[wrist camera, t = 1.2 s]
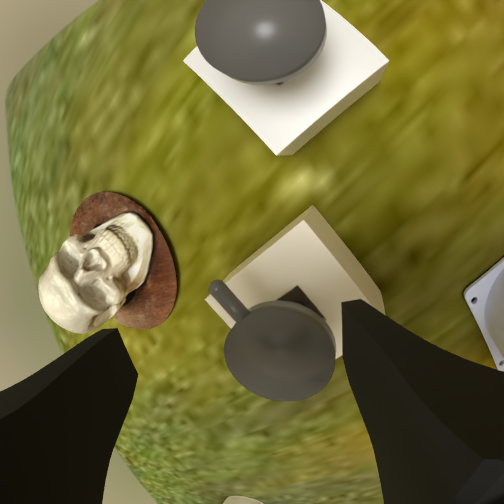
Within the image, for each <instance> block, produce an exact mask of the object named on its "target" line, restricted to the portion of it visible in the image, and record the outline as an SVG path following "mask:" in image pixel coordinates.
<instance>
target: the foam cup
mask: <svg viewBox="0 0 504 504" xmlns="http://www.w3.org/2000/svg"><path fill="white" fill-rule="evenodd" d="M223 504H264V503H262V502H260V501H258V500H255V499H252V498H248V497H244V496H229V497H228V498H226V500H225V501H224V502H223Z"/></svg>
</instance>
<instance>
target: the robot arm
mask: <svg viewBox="0 0 504 504" xmlns="http://www.w3.org/2000/svg"><path fill="white" fill-rule="evenodd" d="M473 297H476V298H475V300H474V301H472V302H471V299H472V298H473ZM464 298H465V300H466V302H467V304H468V306H469V308H470V310H471V312H472V313H473V316H474V318H475V320H476V322H477V324H478V326H479V328H480V330H481V332H482V334H483V336H484V339H485V341H486V343H487V345H488V348H489V350H490V352H491V355H492V357H493V359H494V362H495V364H496V367H497V369H498V370H496V369H493V368H490V367H487V366H484V365H481V364H477V363H474V362H472V361H469V360H466V359H464V358H461V357H459V356H457V355H455V354H452V353H450V352H448V351H446V350H443V349H441V348H439V347H437V346H435V345H433V344H431V343H430V342H428V341H426V340H424V339H422V338H421V337H419V336H417V335H415V334H414V333H412V332H410V331H409V330H407V329H405V328H404V327H402V326H401V325H399V324H398V323H396V322H395V321H393V320H392V319H390V318H389V317H387V316H386V315H384V314H383V313H381V312H380V311H378V310H377V309H375V308H374V307H373V306H371V305H370V304H368V303H367V302H365V301H364V300H362V299H357V300H351V301H345V302H341V308H342V356H343V360H344V364H345V368H346V372H347V376H348V380H349V383H350V386H351V389H352V391H353V394H354V396H355V399H356V402H357V404H358V407H359V410H360V412H361V415H362V417H363V420H364V423H365V425H366V428H367V431H368V434H369V436H370V439H371V443H372V446H373V449H374V453H375V458H376V462H377V467H378V472H379V477H380V482H381V488H382V493H383V499H384V504H504V257H503V258H502V259H501V260H500V261H499V262H498V263H497V264H495V265H494V266H493V267H492V268H491V269H489V270H488V271H487V272H486V273H485V274H483V275H482V276H481V277H480V278H479V279H477V280H476V281H475V282H474V283H472V284H471V285H470V286H469V287H467V288H466V289H465V291H464ZM501 361H502V362H501ZM137 378H138V373H137V371H136V369H135V367H134V365H133V363H132V360H131V358H130V356H129V354H128V352H127V349H126V347H125V345H124V343H123V340H122V338H121V336H120V333H119V331H118V329H117V328H115V329H102V330H100V331H98V332H96V333H95V334H93V335H91V336H90V337H88V338H86V339H85V340H83V341H82V342H80V343H79V344H77V345H76V346H75V347H73V348H72V349H70V350H69V351H67V352H66V353H64V354H63V355H61V356H60V357H59V358H57V359H56V360H55V361H53V362H51V363H50V364H48V365H46V366H45V367H43V368H42V369H40V370H39V371H37V372H36V373H34V374H33V375H31V376H29V377H28V378H26V379H24V380H23V381H21V382H19V383H17V384H15V385H13V386H11V387H9V388H7V389H5V390H3V391H0V504H102V500H103V492H104V486H105V480H106V476H107V471H108V466H109V462H110V458H111V455H112V451H113V448H114V446H115V443H116V441H117V438H118V435H119V433H120V430H121V428H122V425H123V423H124V420H125V418H126V415H127V412H128V410H129V407H130V404H131V402H132V399H133V395H134V391H135V387H136V382H137Z"/></svg>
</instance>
